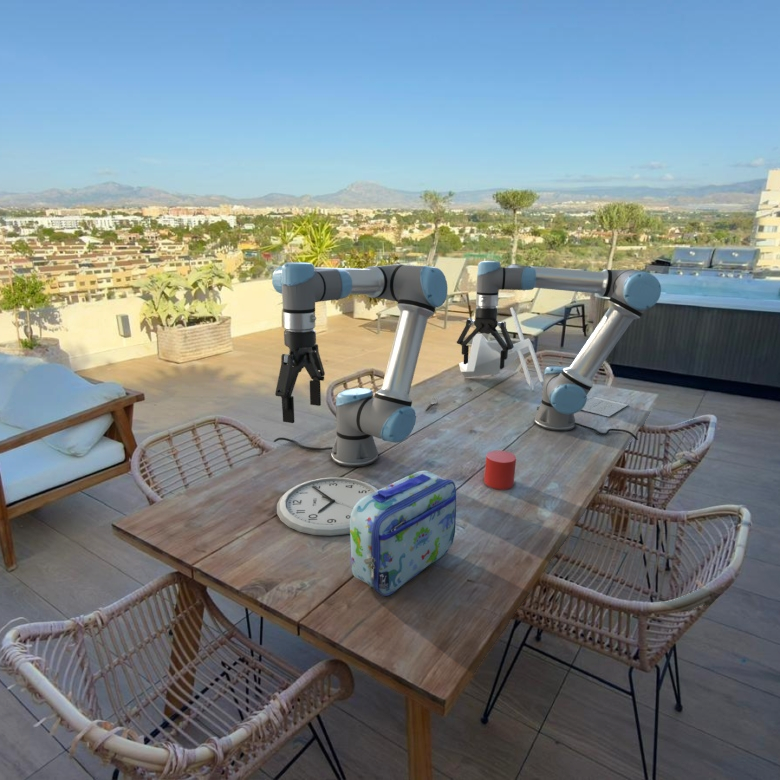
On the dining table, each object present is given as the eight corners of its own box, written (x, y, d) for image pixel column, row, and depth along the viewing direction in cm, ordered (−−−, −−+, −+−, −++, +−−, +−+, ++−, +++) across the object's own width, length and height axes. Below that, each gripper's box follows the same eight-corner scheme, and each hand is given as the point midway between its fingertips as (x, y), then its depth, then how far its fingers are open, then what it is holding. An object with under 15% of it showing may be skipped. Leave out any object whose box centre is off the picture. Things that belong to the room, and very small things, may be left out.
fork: (422, 411, 216) (422, 407, 215) (433, 400, 230) (433, 396, 230) (428, 412, 215) (429, 407, 215) (438, 401, 230) (439, 396, 229)
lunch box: (378, 608, 104) (379, 516, 98) (343, 583, 112) (342, 495, 105) (459, 554, 122) (465, 473, 116) (425, 535, 129) (428, 458, 123)
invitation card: (608, 416, 214) (573, 407, 224) (608, 416, 214) (573, 408, 224) (628, 404, 229) (594, 396, 238) (628, 405, 229) (594, 397, 238)
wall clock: (392, 527, 129) (268, 531, 127) (391, 533, 130) (269, 537, 127) (383, 473, 158) (282, 475, 155) (383, 478, 158) (282, 480, 156)
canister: (482, 487, 154) (484, 460, 152) (485, 474, 162) (487, 448, 160) (512, 491, 152) (515, 464, 150) (514, 478, 160) (516, 452, 158)
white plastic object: (480, 419, 265) (459, 396, 241) (461, 346, 287) (441, 319, 263) (551, 395, 253) (536, 368, 228) (526, 321, 275) (510, 290, 251)
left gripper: (286, 340, 112) (290, 432, 119) (336, 322, 135) (337, 400, 141) (256, 337, 115) (261, 427, 121) (310, 320, 137) (313, 396, 143)
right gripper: (449, 305, 185) (447, 363, 191) (519, 310, 173) (514, 372, 180) (457, 303, 191) (455, 359, 197) (525, 307, 179) (520, 367, 186)
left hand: (302, 413), depth 131 cm, fingers open, 13 cm apart
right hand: (483, 365), depth 188 cm, fingers open, 13 cm apart
